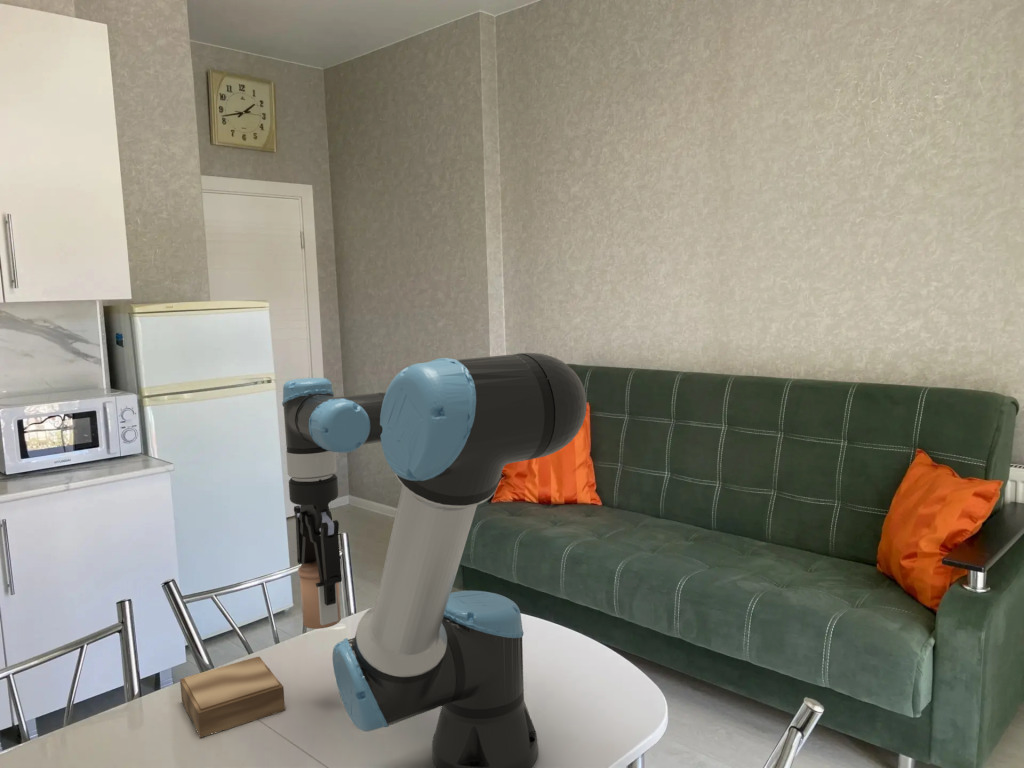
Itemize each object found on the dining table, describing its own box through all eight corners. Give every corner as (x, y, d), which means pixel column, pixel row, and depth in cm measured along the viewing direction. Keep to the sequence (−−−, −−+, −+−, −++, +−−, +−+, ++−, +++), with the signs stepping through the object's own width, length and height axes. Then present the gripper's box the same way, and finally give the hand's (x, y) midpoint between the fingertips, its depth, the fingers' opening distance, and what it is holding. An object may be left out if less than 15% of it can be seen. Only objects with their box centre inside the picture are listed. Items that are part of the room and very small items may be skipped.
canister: (348, 622, 124) (345, 568, 123) (309, 632, 121) (306, 577, 120) (333, 609, 130) (330, 557, 129) (296, 619, 126) (292, 566, 125)
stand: (284, 710, 125) (283, 684, 124) (200, 738, 117) (198, 711, 117) (260, 678, 135) (259, 654, 135) (182, 702, 128) (179, 677, 128)
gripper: (359, 483, 117) (367, 629, 120) (314, 462, 132) (322, 592, 135) (310, 491, 113) (320, 642, 115) (270, 469, 128) (280, 602, 131)
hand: (321, 615), depth 125 cm, fingers closed on canister, 6 cm apart
